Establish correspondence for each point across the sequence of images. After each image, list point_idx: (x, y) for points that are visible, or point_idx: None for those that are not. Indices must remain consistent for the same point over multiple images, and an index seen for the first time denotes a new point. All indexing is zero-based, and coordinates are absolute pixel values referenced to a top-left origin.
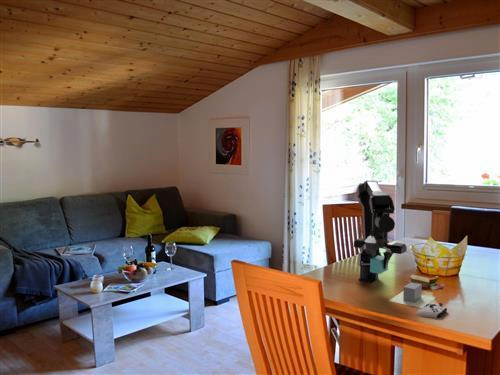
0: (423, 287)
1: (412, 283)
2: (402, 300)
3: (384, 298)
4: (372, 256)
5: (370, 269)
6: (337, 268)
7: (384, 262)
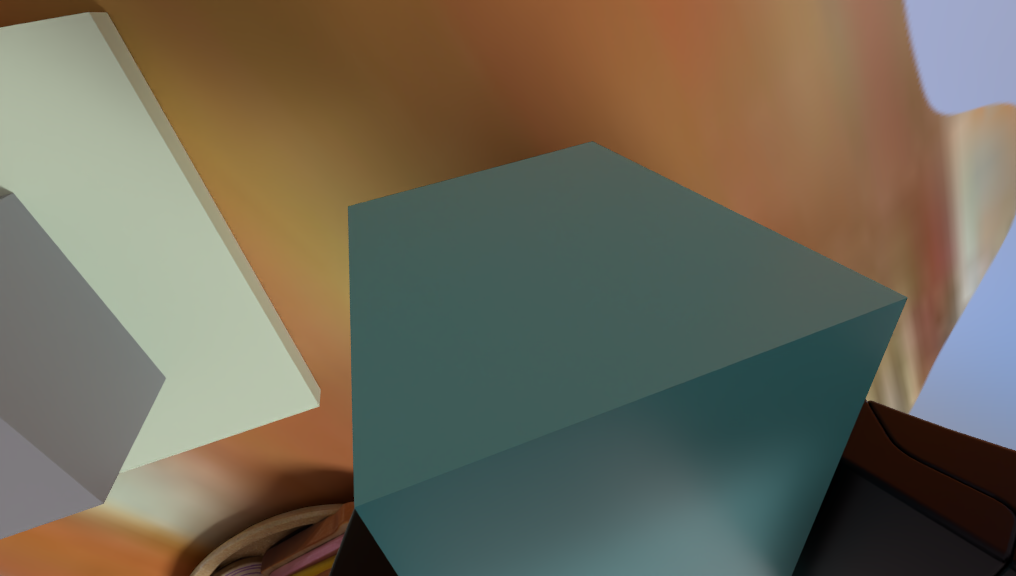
0: (282, 554)
1: (33, 495)
2: (17, 183)
3: (307, 145)
4: (880, 520)
5: (612, 160)
6: (888, 372)
7: (385, 556)
